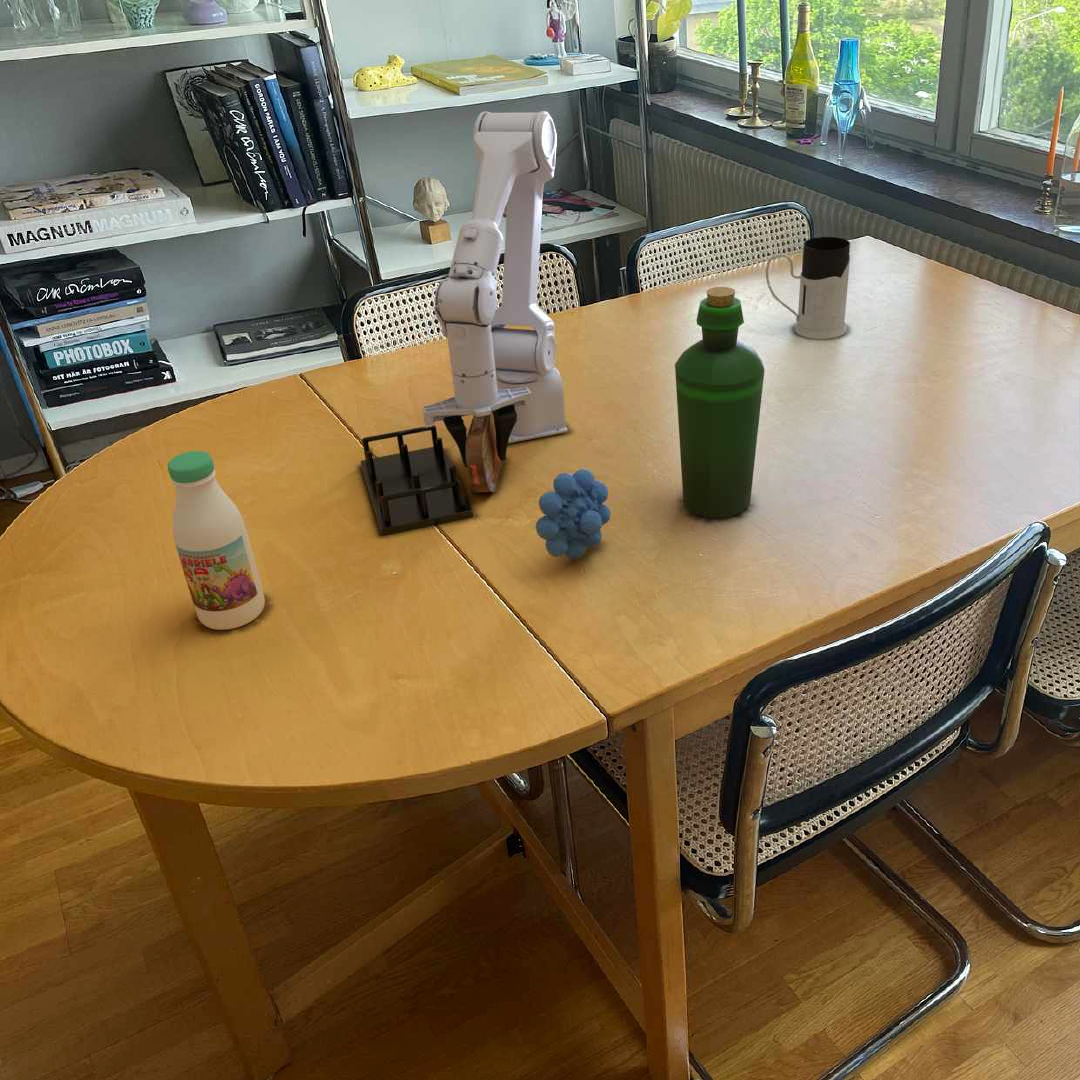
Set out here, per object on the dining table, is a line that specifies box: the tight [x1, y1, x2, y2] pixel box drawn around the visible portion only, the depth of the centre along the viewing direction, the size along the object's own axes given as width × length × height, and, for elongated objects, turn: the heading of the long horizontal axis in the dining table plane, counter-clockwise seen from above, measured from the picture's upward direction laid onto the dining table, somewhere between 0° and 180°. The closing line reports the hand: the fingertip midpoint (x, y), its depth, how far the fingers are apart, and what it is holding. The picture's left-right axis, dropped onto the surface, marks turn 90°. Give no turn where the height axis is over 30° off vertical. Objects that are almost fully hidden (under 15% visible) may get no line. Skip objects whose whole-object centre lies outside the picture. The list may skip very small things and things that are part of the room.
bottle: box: [674, 286, 765, 518], centre depth 125 cm, size 11×11×28 cm
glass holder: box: [765, 236, 851, 340], centre depth 175 cm, size 9×14×15 cm, turn 89°
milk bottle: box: [167, 450, 266, 631], centre depth 115 cm, size 8×8×20 cm
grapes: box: [535, 468, 611, 560], centre depth 121 cm, size 12×7×12 cm, turn 135°
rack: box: [360, 424, 474, 536], centre depth 140 cm, size 12×20×5 cm, turn 16°
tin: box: [465, 411, 503, 493], centre depth 141 cm, size 15×3×8 cm, turn 175°
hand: (483, 461), depth 142 cm, fingers closed on tin, 4 cm apart
